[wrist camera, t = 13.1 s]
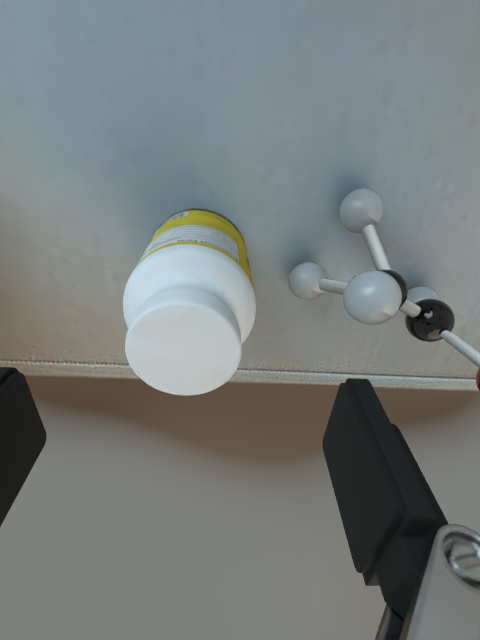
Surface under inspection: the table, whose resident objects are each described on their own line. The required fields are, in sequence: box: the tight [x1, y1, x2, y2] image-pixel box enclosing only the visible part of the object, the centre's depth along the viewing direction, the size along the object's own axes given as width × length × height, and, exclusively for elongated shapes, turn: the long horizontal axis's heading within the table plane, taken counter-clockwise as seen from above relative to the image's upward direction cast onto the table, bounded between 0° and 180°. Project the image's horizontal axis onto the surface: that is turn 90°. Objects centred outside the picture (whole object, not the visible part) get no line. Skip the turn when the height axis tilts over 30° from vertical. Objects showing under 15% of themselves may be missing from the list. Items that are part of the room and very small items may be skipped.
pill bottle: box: [123, 208, 256, 395], centre depth 18 cm, size 6×6×12 cm
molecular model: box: [289, 188, 480, 391], centre depth 20 cm, size 8×12×11 cm
